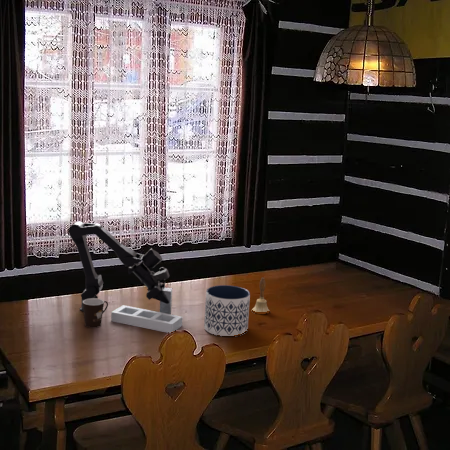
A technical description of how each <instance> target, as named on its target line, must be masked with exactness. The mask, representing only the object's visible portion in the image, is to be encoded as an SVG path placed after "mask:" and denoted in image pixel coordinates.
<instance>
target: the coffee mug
mask: <svg viewBox="0 0 450 450" xmlns="http://www.w3.org/2000/svg"><path fill="white" fill-rule="evenodd" d="M105 304H106V307H105ZM104 307H105V308H104ZM108 307H109V303H108V301H105V300H103V299H101V298H98V299H97V298H90V299H85V300H84V301H83V309H84V312H83V316H84V317H83V318H84V326H85V327H87V328H92V329H93V328H99V327H101V325H102V319H103V315H104V313H105V312H106V311H107V309H108Z"/></svg>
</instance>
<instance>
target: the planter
mask: <svg viewBox="0 0 450 450" xmlns="http://www.w3.org/2000/svg"><path fill="white" fill-rule="evenodd" d="M250 298H251V292H250V291H249V290H248V289H246V288H244V287H240V286H237V285H235V286H234V285H227V284H225V285H224V284H223V285H222V284H221V285H213V286H211V287H208V288H207V289H206V292H205V302H204V303H205V307H204V323H203V328H204V330H205V331H206V332H207V333H208V334H211V335H213V334H214V336H217V335H220V336H219V337H222V336H234V335H238V334H242V333H244V332H245V331H247V332H248V330H247V329H249V316H250V303H251V301H250V300H251V299H250ZM244 334H245V333H244ZM242 335H243V334H242Z"/></svg>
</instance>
